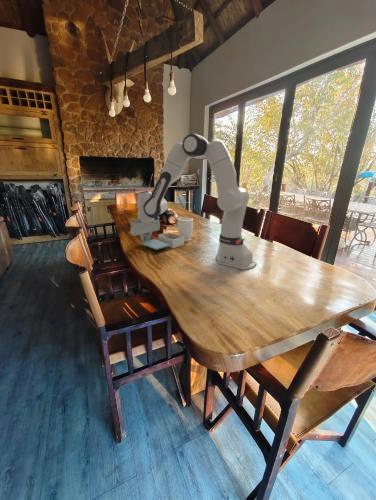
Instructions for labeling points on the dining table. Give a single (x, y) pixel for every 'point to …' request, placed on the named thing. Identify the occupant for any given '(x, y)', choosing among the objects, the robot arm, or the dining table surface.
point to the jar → (185, 227)
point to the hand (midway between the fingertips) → (146, 239)
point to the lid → (153, 243)
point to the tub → (172, 242)
